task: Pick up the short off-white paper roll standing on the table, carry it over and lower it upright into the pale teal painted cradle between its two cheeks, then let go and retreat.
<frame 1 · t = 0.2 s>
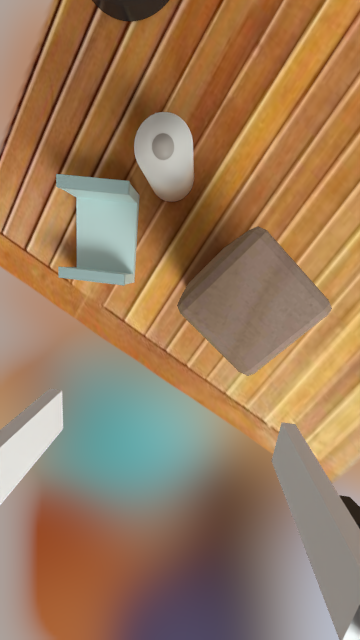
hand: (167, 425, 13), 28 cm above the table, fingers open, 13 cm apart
roll: (171, 177, 35), on the table
wooden block: (225, 287, 38), on the table
cradle: (108, 237, 37), on the table
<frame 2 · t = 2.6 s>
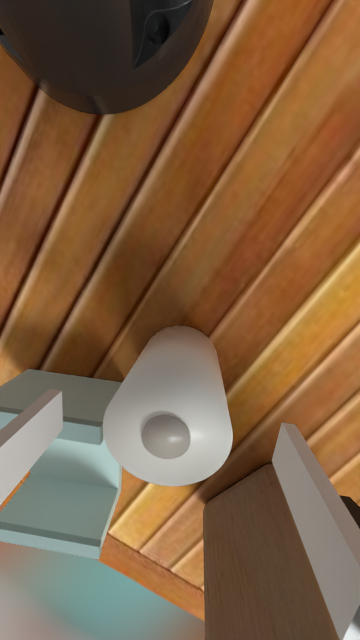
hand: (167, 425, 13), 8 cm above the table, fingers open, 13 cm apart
roll: (180, 361, 20), on the table
wooden block: (263, 505, 24), on the table
cradle: (77, 433, 24), on the table
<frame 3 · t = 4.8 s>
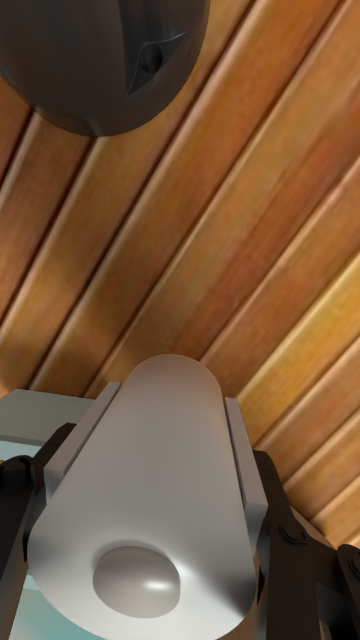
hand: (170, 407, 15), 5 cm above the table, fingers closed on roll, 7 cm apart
roll: (171, 400, 15), point 4 cm above the table, touching gripper
wooden block: (262, 532, 23), on the table
cradle: (66, 456, 22), on the table
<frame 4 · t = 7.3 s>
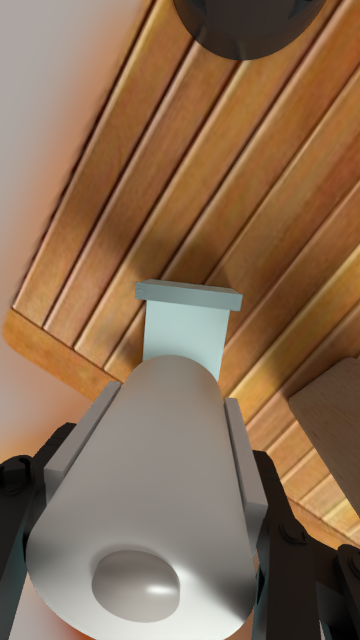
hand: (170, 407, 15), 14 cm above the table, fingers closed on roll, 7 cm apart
roll: (171, 401, 15), point 13 cm above the table, touching gripper
wooden block: (336, 400, 29), on the table
cradle: (184, 337, 28), on the table
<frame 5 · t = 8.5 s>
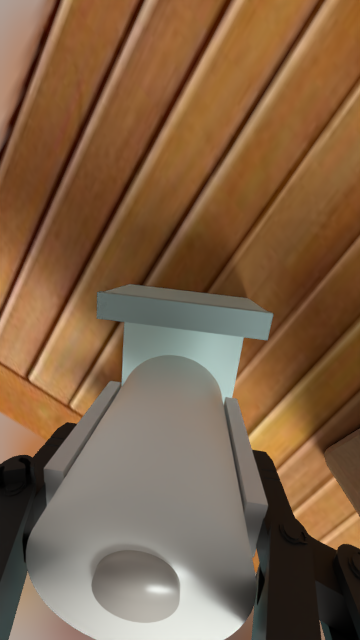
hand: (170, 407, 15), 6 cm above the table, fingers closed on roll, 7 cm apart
roll: (171, 401, 15), point 5 cm above the table, touching gripper
cradle: (179, 366, 20), on the table
when the fingers open (2 cm above the table, at t = 9.7 s): roll stays where it is, resting on cradle.
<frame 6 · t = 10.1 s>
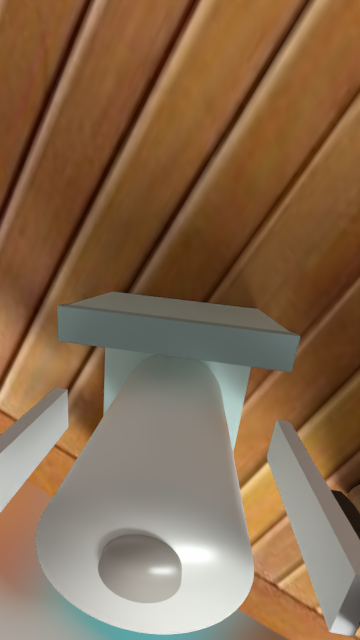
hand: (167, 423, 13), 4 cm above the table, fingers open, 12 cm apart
roll: (172, 398, 16), point 1 cm above the table, touching cradle
cradle: (173, 390, 17), on the table
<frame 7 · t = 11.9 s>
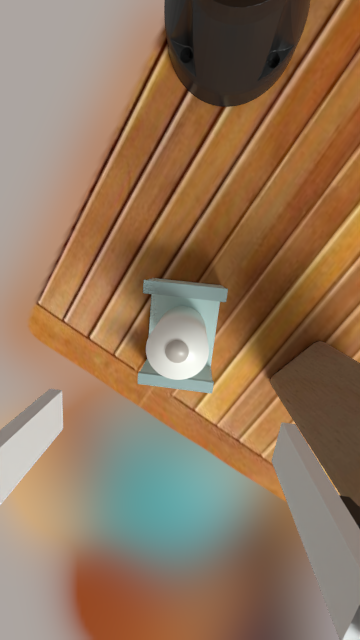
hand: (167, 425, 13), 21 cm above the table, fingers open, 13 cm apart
roll: (182, 328, 33), point 1 cm above the table, touching cradle
wooden block: (310, 378, 35), on the table
cradle: (182, 327, 34), on the table
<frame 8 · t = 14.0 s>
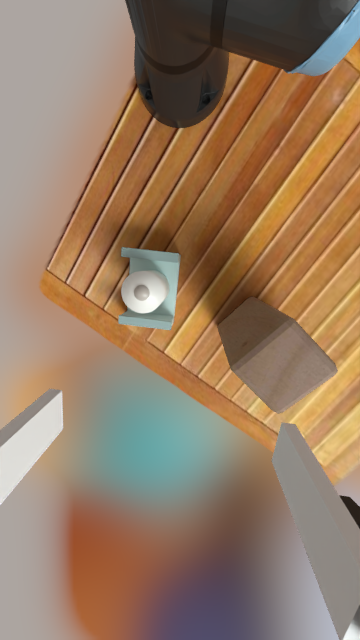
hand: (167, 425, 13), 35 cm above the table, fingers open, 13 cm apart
roll: (152, 287, 45), point 1 cm above the table, touching cradle
wooden block: (248, 326, 47), on the table
cradle: (153, 287, 46), on the table
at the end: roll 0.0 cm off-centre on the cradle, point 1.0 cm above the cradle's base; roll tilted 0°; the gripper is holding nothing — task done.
